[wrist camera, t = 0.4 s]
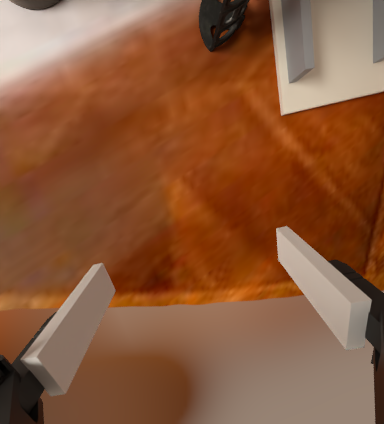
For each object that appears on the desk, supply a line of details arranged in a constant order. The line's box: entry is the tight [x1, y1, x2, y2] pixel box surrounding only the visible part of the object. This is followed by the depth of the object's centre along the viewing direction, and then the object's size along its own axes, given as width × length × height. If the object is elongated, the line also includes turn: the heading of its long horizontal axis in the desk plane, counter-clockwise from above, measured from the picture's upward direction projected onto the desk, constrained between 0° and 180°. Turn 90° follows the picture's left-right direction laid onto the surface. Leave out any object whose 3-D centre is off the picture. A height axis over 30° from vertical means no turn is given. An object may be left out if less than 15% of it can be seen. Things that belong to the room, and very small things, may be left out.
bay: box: [269, 0, 384, 116], centre depth 31 cm, size 22×20×6 cm
